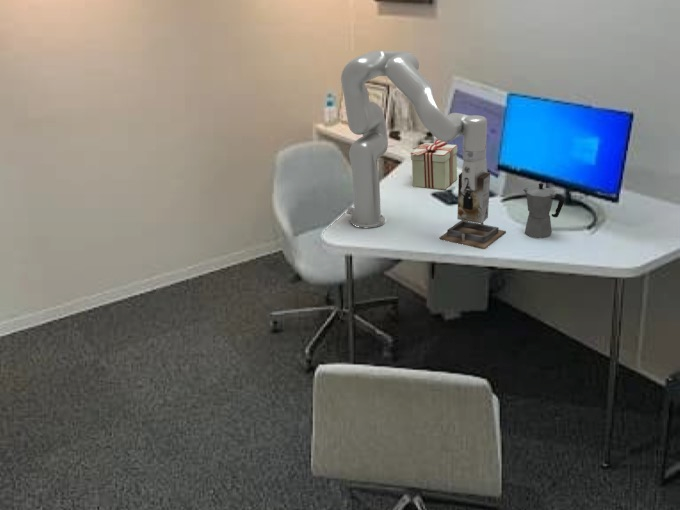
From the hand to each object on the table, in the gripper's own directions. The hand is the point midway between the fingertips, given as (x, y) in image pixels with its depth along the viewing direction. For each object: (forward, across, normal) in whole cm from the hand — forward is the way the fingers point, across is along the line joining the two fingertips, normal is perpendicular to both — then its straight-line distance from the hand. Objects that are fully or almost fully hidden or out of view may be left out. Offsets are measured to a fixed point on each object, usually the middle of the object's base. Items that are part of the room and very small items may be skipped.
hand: (473, 205), depth 243 cm
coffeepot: (+12, +13, -19) cm, 26 cm away
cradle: (+11, 0, 0) cm, 11 cm away
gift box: (+12, +42, +41) cm, 60 cm away
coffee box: (+5, 0, 0) cm, 5 cm away
